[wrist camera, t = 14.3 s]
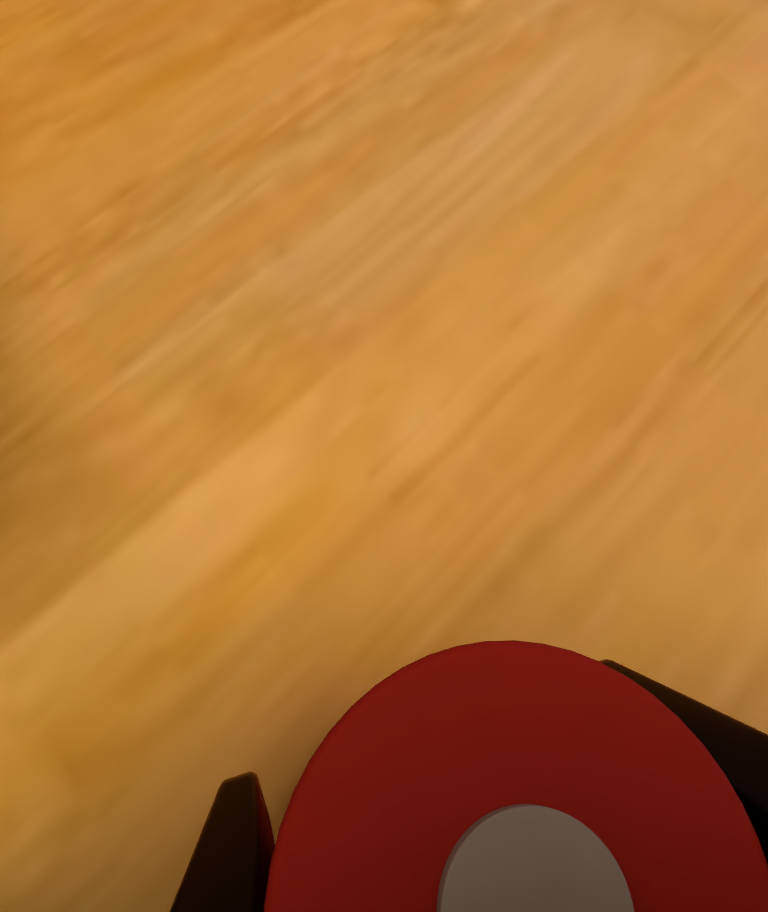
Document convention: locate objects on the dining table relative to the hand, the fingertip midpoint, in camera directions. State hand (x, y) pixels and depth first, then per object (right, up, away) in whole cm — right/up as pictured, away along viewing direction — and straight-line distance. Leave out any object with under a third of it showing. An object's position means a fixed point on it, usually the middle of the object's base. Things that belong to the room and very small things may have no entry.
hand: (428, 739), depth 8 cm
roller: (0, -3, +4) cm, 6 cm away
